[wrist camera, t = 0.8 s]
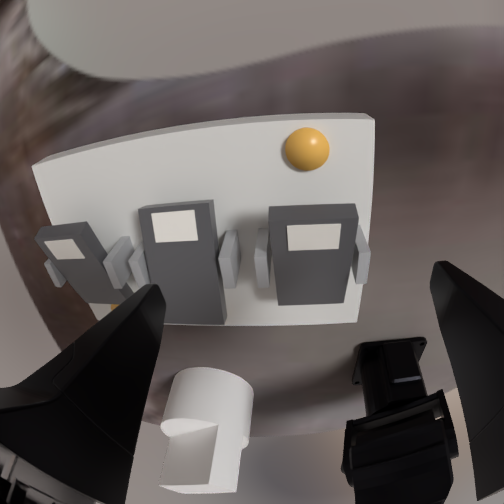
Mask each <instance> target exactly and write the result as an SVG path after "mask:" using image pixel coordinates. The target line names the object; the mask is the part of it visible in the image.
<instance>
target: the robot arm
mask: <svg viewBox="0 0 504 504" xmlns="http://www.w3.org/2000/svg"><path fill="white" fill-rule="evenodd" d="M430 290H431V294H432V298H433V302H434V306H435V310H436V314H437V319H438V323H439V327H440V330H441V334H442V337H443V340H444V343H445V346H446V349H447V352H448V356H449V359H450V362H451V366H452V369H453V373H454V376H455V380H456V384H457V388H458V392H459V396H460V399H461V404H462V408H463V413H464V417H465V422H466V427H467V432H468V437H469V442H470V450H471V456H472V463H473V469H474V478H475V487H476V496H477V501H479V500H482V499H484V498H486V497H489V496H491V495H493V494H496V493H498V492H500V491H502V490H504V299H503V298H501V297H500V296H499V295H497V294H496V293H494V292H493V291H491V290H490V289H489V288H487V287H486V286H484V285H483V284H481V283H480V282H478V281H477V280H475V279H474V278H472V277H471V276H469V275H468V274H466V273H465V272H463V271H462V270H460V269H459V268H457V267H456V266H454V265H453V264H451V263H450V262H448V261H437V262H435V264H434V266H433V271H432V275H431V280H430ZM165 313H166V301H165V299H164V296H163V294H162V292H161V289H160V287H159V285H158V284H156V283H151V284H145V285H144V286H142V287H141V288H140V289H139V290H137V291H136V292H135V293H134V294H132V295H131V296H130V297H128V298H127V299H126V300H125V301H123V302H122V303H121V304H120V305H118V306H117V307H116V308H115V309H113V310H112V311H111V312H110V313H108V314H107V315H106V316H105V317H103V318H102V319H101V320H100V321H99V322H97V323H96V324H95V325H94V326H92V327H91V328H90V329H89V330H87V331H86V332H85V333H84V334H83V335H81V336H80V337H79V338H78V339H77V340H75V342H73V343H72V344H70V345H69V346H68V347H67V348H66V349H64V350H63V351H62V352H61V353H60V354H58V355H57V356H56V357H55V358H53V359H52V360H50V361H49V362H48V363H46V364H45V365H44V366H42V367H41V368H40V369H39V370H37V371H36V372H34V373H33V374H32V375H30V376H29V377H27V378H26V379H25V380H23V381H22V382H20V383H19V384H17V385H15V386H12V387H6V388H0V504H96V502H98V503H100V504H125V500H126V494H127V489H128V483H129V478H130V473H131V468H132V463H133V458H134V457H133V455H134V453H135V448H136V443H137V438H138V433H139V430H140V425H141V421H142V416H143V412H144V408H145V404H146V400H147V395H148V391H149V387H150V383H151V379H152V376H153V372H154V368H155V364H156V360H157V356H158V353H159V349H160V344H161V338H162V332H163V325H164V319H165ZM426 344H427V341H426V338H425V337H420V338H412V339H403V340H393V341H383V342H371V343H364V344H362V345H361V346H360V349H359V354H358V358H357V362H356V366H355V370H354V374H353V378H352V384H353V385H362V387H363V394H364V401H365V409H366V417H363V418H360V419H356V420H353V419H352V420H349V421H347V424H346V429H345V438H344V450H343V461H342V465H341V471H342V473H344V474H345V475H346V478H347V481H348V484H349V485H350V486H351V487H354V491H355V504H444V502H445V500H446V498H447V496H448V494H449V491H450V488H451V486H452V484H453V472H452V466H451V459H453V458H456V457H458V456H459V453H458V445H457V439H456V434H455V430H454V426H453V422H452V419H451V415H450V412H449V408H448V405H447V402H446V399H445V396H444V392H443V389H441V390H438V391H437V392H436V393H434V394H431V395H429V396H428V395H427V391H426V388H425V384H424V380H423V377H422V373H421V369H420V366H419V363H418V362H419V360H420V358H421V355H422V353H423V351H424V349H425V346H426ZM440 416H441V418H440V419H437V420H435V418H437V417H440Z"/></svg>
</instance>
